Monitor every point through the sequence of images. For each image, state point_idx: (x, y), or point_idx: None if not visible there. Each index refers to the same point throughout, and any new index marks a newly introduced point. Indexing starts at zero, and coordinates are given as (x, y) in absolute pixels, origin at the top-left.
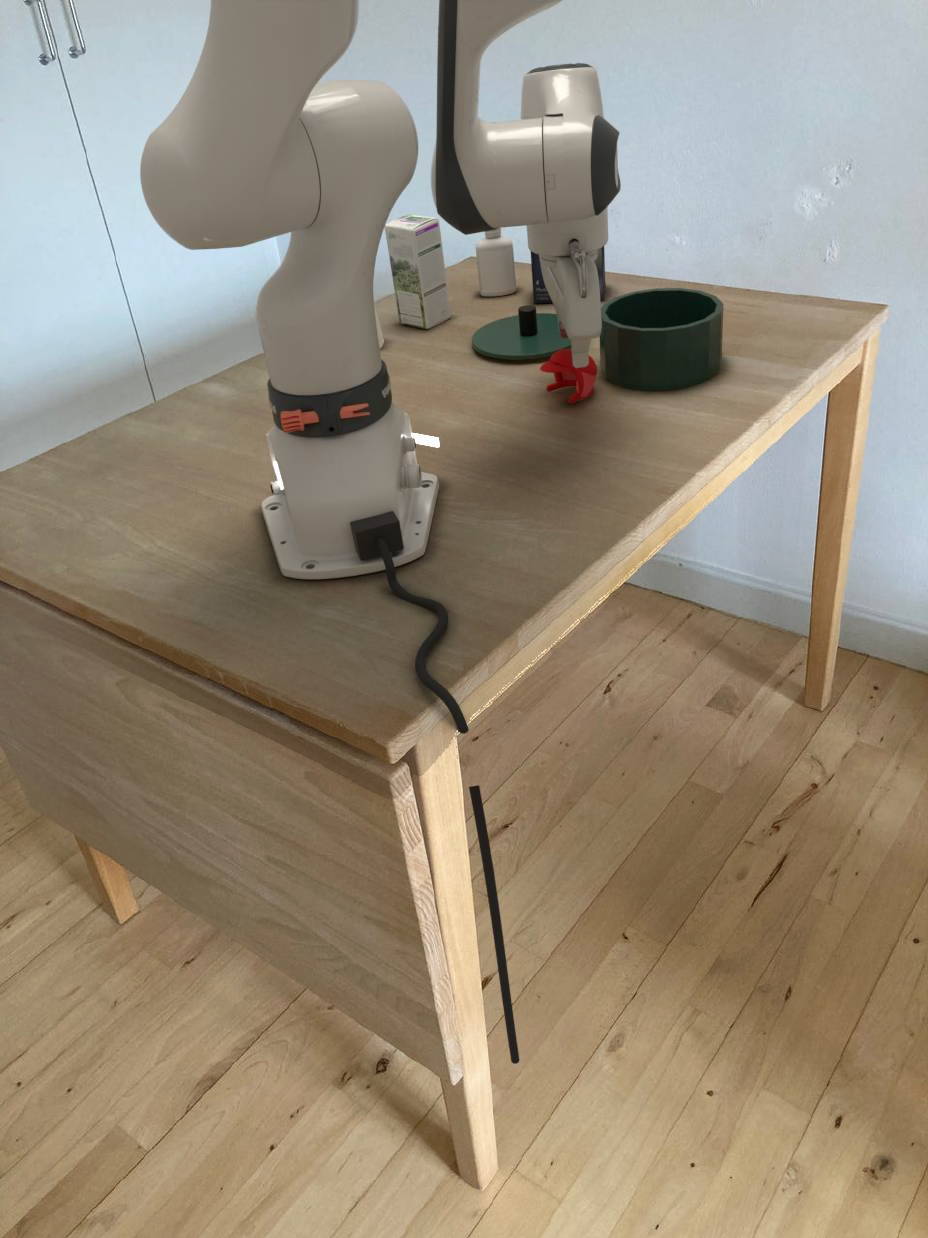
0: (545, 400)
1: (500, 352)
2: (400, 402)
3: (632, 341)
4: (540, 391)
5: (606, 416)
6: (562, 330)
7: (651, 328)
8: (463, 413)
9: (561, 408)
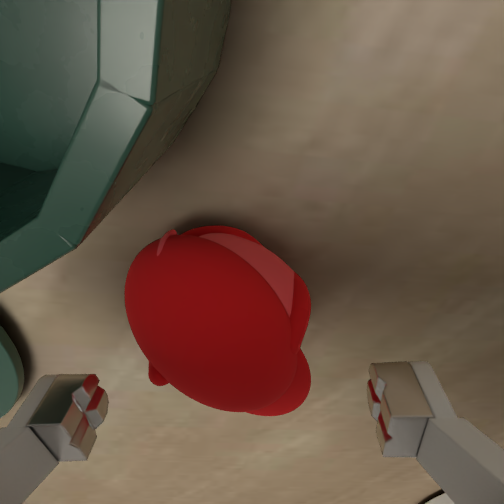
0: None
1: (5, 397)
2: (203, 482)
3: (152, 138)
4: None
5: (387, 199)
6: (93, 426)
7: None
8: (267, 429)
9: None
